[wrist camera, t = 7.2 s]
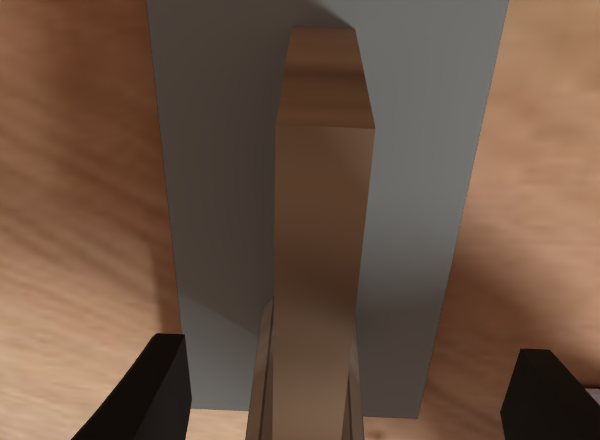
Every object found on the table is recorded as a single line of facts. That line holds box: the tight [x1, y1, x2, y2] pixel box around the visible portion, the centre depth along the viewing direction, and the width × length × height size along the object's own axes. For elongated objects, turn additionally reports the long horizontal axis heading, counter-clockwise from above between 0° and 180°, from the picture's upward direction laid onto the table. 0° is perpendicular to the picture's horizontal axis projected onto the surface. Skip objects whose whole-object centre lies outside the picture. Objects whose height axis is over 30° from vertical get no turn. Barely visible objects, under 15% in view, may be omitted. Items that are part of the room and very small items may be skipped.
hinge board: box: [146, 0, 509, 419], centre depth 20 cm, size 18×10×4 cm, turn 178°
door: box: [245, 27, 376, 440], centre depth 17 cm, size 13×4×7 cm, turn 178°
